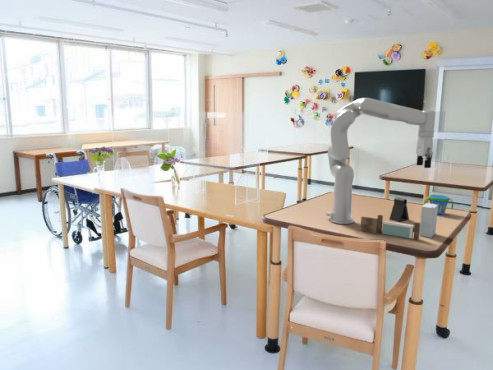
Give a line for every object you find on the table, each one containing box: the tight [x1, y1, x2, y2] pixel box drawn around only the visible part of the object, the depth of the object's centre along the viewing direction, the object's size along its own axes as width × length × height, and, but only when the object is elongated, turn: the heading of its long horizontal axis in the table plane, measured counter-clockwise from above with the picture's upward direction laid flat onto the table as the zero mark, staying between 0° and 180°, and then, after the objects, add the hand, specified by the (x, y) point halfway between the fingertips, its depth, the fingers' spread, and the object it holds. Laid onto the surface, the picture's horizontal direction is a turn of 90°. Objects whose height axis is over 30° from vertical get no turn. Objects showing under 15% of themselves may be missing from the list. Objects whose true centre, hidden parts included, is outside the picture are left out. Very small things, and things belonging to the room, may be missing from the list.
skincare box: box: [419, 202, 438, 239], centre depth 201 cm, size 8×6×15 cm
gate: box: [382, 220, 414, 239], centre depth 199 cm, size 14×2×6 cm, turn 56°
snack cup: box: [423, 194, 454, 216], centre depth 241 cm, size 16×10×10 cm
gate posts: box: [360, 214, 420, 241], centre depth 202 cm, size 28×3×9 cm, turn 56°
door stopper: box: [389, 197, 410, 223], centre depth 228 cm, size 9×6×12 cm, turn 123°
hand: (423, 166), depth 222 cm, fingers open, 9 cm apart
